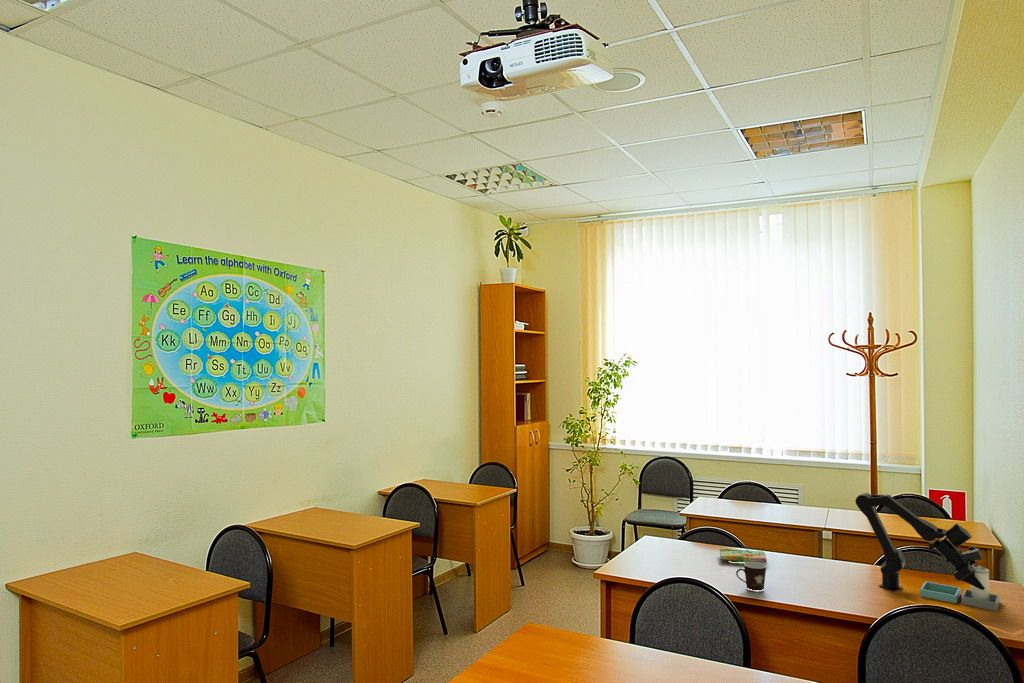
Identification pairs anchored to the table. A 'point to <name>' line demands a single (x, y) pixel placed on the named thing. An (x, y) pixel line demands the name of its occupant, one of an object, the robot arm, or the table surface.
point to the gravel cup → (983, 577)
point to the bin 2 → (980, 601)
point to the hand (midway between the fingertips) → (984, 587)
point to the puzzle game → (743, 556)
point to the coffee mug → (754, 575)
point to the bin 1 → (940, 592)
